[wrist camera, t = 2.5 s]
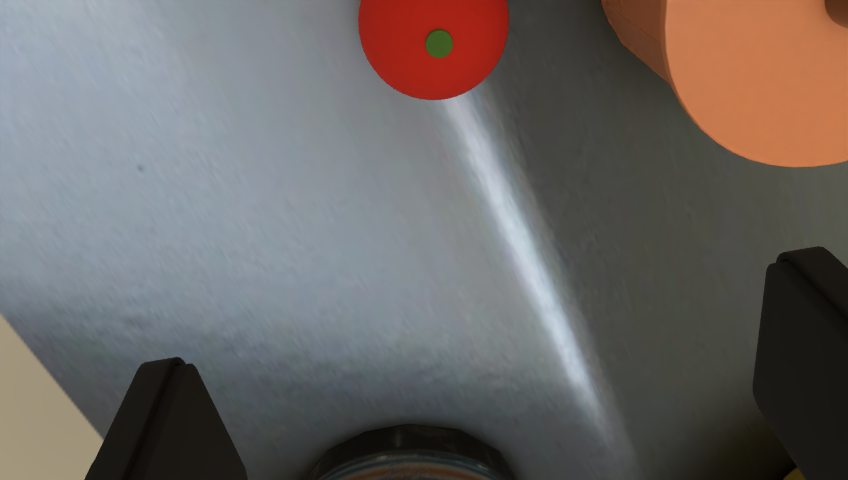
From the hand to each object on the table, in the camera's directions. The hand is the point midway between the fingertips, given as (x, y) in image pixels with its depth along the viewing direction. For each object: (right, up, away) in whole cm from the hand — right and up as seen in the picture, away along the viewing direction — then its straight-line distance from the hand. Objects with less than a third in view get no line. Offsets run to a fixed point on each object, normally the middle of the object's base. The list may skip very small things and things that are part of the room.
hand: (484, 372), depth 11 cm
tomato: (-1, +13, +18) cm, 22 cm away
